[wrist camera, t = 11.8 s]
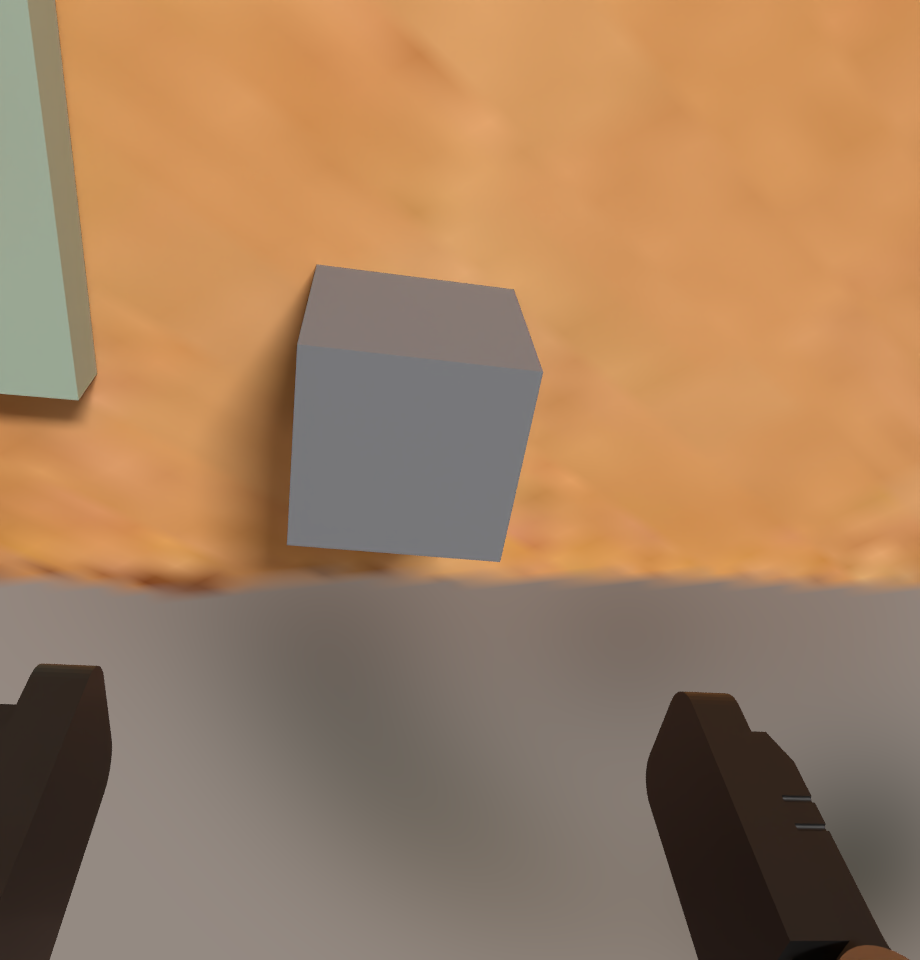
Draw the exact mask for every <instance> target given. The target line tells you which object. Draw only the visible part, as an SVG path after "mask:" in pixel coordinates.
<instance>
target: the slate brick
mask: <svg viewBox="0 0 920 960" xmlns="http://www.w3.org/2000/svg"><path fill="white" fill-rule="evenodd" d="M542 374H543V370H542V368H541V365H540V362H539V359H538V356H537V353H536V351H535V348H534V345H533V342H532V339H531V336H530V334H529V331H528V328H527V325H526V322H525V320H524V317H523V314H522V311H521V308H520V305H519V303H518V300H517V297H516V294H515V291H514V289H506V288H498V287H490V286H482V285H474V284H467V283H459V282H451V281H443V280H435V279H427V278H419V277H411V276H403V275H396V274H388V273H380V272H372V271H364V270H356V269H348V268H340V267H332V266H325V265H317V266H316V270H315V274H314V278H313V282H312V286H311V290H310V294H309V298H308V302H307V307H306V311H305V315H304V319H303V323H302V327H301V331H300V335H299V339H298V343H297V359H296V378H295V398H294V418H293V437H292V457H291V477H290V496H289V516H288V536H287V545H292V546H305V547H318V548H330V549H343V550H355V551H368V552H381V553H393V554H406V555H419V556H431V557H444V558H456V559H469V560H482V561H494V562H500V560H501V556H502V551H503V547H504V542H505V538H506V534H507V529H508V525H509V520H510V516H511V511H512V507H513V503H514V498H515V494H516V489H517V485H518V480H519V476H520V472H521V467H522V463H523V458H524V454H525V450H526V445H527V441H528V436H529V432H530V427H531V423H532V419H533V414H534V410H535V405H536V401H537V396H538V392H539V388H540V383H541V379H542Z"/></svg>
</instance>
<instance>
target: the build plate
mask: <svg viewBox="0 0 920 960" xmlns="http://www.w3.org/2000/svg"><path fill="white" fill-rule="evenodd" d="M96 375H97V370H96V361H95V352H94V343H93V334H92V325H91V316H90V307H89V298H88V289H87V281H86V272H85V263H84V254H83V245H82V236H81V227H80V218H79V209H78V200H77V191H76V183H75V174H74V165H73V156H72V147H71V138H70V129H69V120H68V111H67V102H66V94H65V85H64V76H63V67H62V58H61V49H60V40H59V31H58V22H57V13H56V4H55V0H0V394H10V395H22V396H33V397H45V398H57V399H69V400H79V399H80V397H81V396H82V395H83V393H84V392H85V390H86V389H87V387H88V386H89V385H90V383H91V382H92V380H93V379H94V377H95V376H96Z"/></svg>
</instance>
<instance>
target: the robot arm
mask: <svg viewBox="0 0 920 960" xmlns="http://www.w3.org/2000/svg"><path fill="white" fill-rule="evenodd" d="M111 755H112V739H111V731H110V724H109V716H108V707H107V699H106V691H105V683H104V675H103V671H102V669H101V667H100V666H86V665H61V664H39V665H38V666H37V667H36V668H35V669H34V670H33V672H32V674H31V675H30V677H29V679H28V682H27V684H26V686H25V688H24V690H23V692H22V694H21V696H20V698H19V700H18V702H17V704H16V705H11V704H0V960H50V956H51V954H52V951H53V947H54V944H55V941H56V938H57V935H58V932H59V929H60V926H61V923H62V920H63V917H64V914H65V911H66V908H67V905H68V902H69V899H70V896H71V893H72V889H73V886H74V883H75V880H76V877H77V874H78V871H79V868H80V865H81V862H82V859H83V856H84V853H85V850H86V847H87V844H88V841H89V838H90V834H91V831H92V828H93V825H94V822H95V819H96V816H97V813H98V810H99V807H100V804H101V801H102V798H103V795H104V792H105V788H106V785H107V781H108V776H109V771H110V764H111ZM646 788H647V795H648V800H649V804H650V807H651V810H652V813H653V816H654V820H655V823H656V826H657V829H658V832H659V836H660V839H661V842H662V845H663V848H664V851H665V855H666V858H667V861H668V864H669V868H670V870H671V874H672V877H673V880H674V883H675V887H676V890H677V893H678V896H679V899H680V903H681V906H682V909H683V912H684V915H685V919H686V921H687V925H688V928H689V931H690V934H691V938H692V941H693V944H694V947H695V950H696V954H697V957H698V960H909V959H907V958H906V957H905V956H903V955H900V954H899V953H897V952H895V951H892V950H891V949H890V948H889V946H888V945H887V943H886V942H885V940H884V938H883V936H882V934H881V932H880V931H879V928H878V926H877V924H876V923H875V921H874V919H873V917H872V915H871V913H870V911H869V909H868V907H867V905H866V903H865V901H864V899H863V897H862V895H861V893H860V892H859V889H858V888H857V885H856V883H855V881H854V879H853V877H852V875H851V874H850V872H849V869H848V867H847V866H846V864H845V861H844V860H843V858H842V856H841V854H840V852H839V850H838V848H837V846H836V844H835V842H834V840H833V838H832V836H831V834H830V832H829V831H826V829H825V822H824V820H823V818H822V816H821V814H820V812H819V810H818V808H817V807H816V804H815V803H812V802H811V794H810V793H809V791H808V788H807V787H806V785H805V783H804V781H803V779H802V777H801V775H800V773H799V771H798V769H797V767H796V765H795V763H794V761H793V760H792V759H791V758H790V757H789V756H788V755H787V754H786V753H785V752H784V751H783V750H782V749H781V748H780V747H779V746H778V744H777V743H776V742H775V741H774V740H773V739H772V738H771V737H770V736H769V735H768V734H767V733H766V732H751V730H750V728H749V726H748V724H747V722H746V719H745V717H744V715H743V713H742V711H741V709H740V707H739V705H738V703H737V701H736V700H735V698H734V697H733V696H731V695H730V694H725V693H701V692H700V693H699V692H678V693H676V694H675V695H674V697H673V699H672V701H671V703H670V705H669V708H668V711H667V713H666V715H665V718H664V721H663V723H662V725H661V728H660V730H659V733H658V736H657V738H656V741H655V743H654V745H653V748H652V750H651V753H650V756H649V759H648V762H647V769H646Z"/></svg>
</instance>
